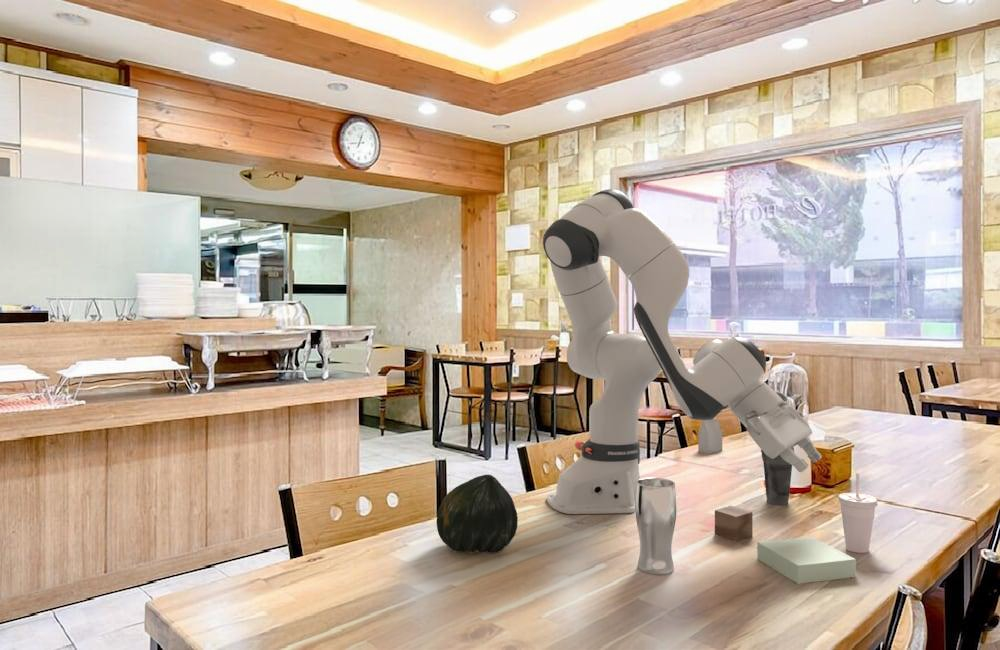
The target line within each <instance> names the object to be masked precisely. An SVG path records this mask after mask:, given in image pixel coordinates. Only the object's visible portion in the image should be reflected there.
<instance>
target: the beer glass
mask: <svg viewBox="0 0 1000 650" xmlns="http://www.w3.org/2000/svg"><path fill="white" fill-rule="evenodd" d="M676 492H677V491H676V482H675V481H673V480H670V479H668V478H661V477H642V478H640V479H639V480H637V481H636V496H635V511H634V512H635V521H636V527H637V532H638V538H639V555H638V561H637V562H638V563H637V568H638V569H639V570H640V571H641V572H643V573H645V574H648V575H652V574H653V575H654V576H665V575H670V574H671V573H672V572H673V571H675V567H674V566H675V565H674V561H673V560H674V559H673V556H672V555H673V552H672V544H673V537H674V533H675V526H676V519H677V508H678V507H677V493H676Z"/></svg>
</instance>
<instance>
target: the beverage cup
mask: <svg viewBox="0 0 1000 650" xmlns="http://www.w3.org/2000/svg"><path fill="white" fill-rule="evenodd" d="M794 447H795V446H794ZM794 447H792V448H791V449H792V450H793V451H794V453H795V449H794ZM760 453H761V458H762V461H763V463H762V464H763V474H764V484H765V494H766V502H767V503H768V504H770V505H775V506H776V505H777V506H785V505H788V504H789V497H790V492H791V491H790V490H791V480H792V471H793V470H792V469H793V465H791V464H789V463H788V462H786V461H785V460H784V459H783V458H782V457H781V456H780V455H779V456H777V457H775V458H774V459H772V458H770V457H768V456H767V455H766V454H765V453H764V452H763V451H762V450H761V449H760ZM795 454H796V453H795Z"/></svg>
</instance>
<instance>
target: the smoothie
mask: <svg viewBox="0 0 1000 650" xmlns="http://www.w3.org/2000/svg"><path fill="white" fill-rule="evenodd" d="M837 501H838V502H839V505H840V511H841V517H842V525H843V527H842V528H843V534H844V543H845V548H846V550H848V551H850V552H854V553H859V554H865V553H866V554H867V553H868V552H869V551H870V550H869V549H870V544H871V538H872V531H873V525H874V524H873V523H874V518H875V511H876V508H877V506H878V499H877V498H876V497H874V496H872V495H869V494H865V493H860V473H858V472H857V473H855V492H843V493H840V494H838V500H837Z"/></svg>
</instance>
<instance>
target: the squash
mask: <svg viewBox="0 0 1000 650" xmlns="http://www.w3.org/2000/svg"><path fill="white" fill-rule="evenodd" d="M518 521H519V520H518V511H517V508H516V506H515V503H514V500H513V498H512V496H511V494H510V493H509V492H508V490H507V489H506V488H505V487H504V486H503V485H502V484H501V483H500V481H499V480H498V479H497V478H496V477H495V476H493V475H492V474H483V475H479V476H476V477H473V478H471V479H470V480H467V481H466V482H463V483H461V484H459V485H457V486H456V487H454V488H453V489H451V490H449V492H448V493H447V494H446V495H445V496H444V497H443V499H442V502H441V504H440V505H439V507H438V510H437V514H436V528H437V529H436V530H437V534H438V536H439V537H440V540H441V541H442V543H444V544H445V545H446V547H448V548H449V549H450V550H451V551H454V552H456V553H461V552H463V553H464V552H465V551H466V552H467V553H474V552H475V551H477V552H478V553H489V554H497V553H500V552H502V551H503V550H504V549H505V548H506V547H507V546H509V544H510V543H511V542H512V541H513V539H514V537H515V535H516V534H517V533H516V532H517V529H518V523H519V522H518Z"/></svg>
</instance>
